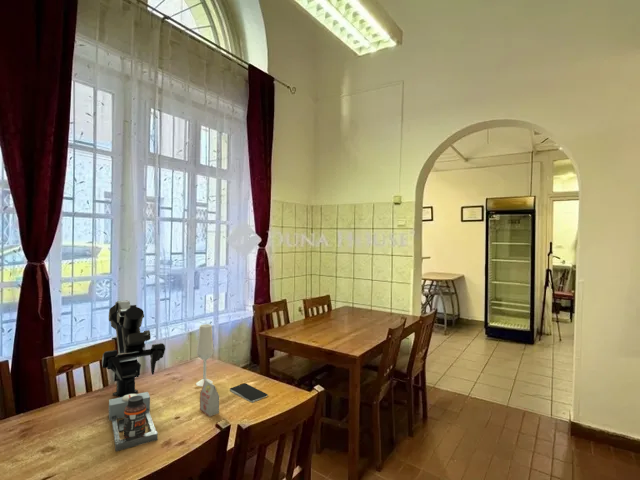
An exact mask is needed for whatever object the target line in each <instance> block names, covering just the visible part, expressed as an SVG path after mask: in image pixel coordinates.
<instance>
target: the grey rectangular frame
mask: <svg viewBox="0 0 640 480" xmlns="http://www.w3.org/2000/svg"><path fill="white" fill-rule="evenodd" d="M150 412H151V411H150ZM150 412H149V409H148V408H147V409H146V425H147V427H148V429H149V432H145V433H144V434H140V435H136V436H133V437H129V438H122V439H121V437H120V433H121V432H122V433H123V432H124V418H120V419H116V416H112V420H111V427H112V434H113V442H114V447H115V452H118V451H123V450H126V449H131V448H134V447H137V446H140V445H144V444H149V443H151V442H155V441H158V434H159V433H158V431H157V429H156V427H155V425H154V421H153V418H152V416H151V413H150Z"/></svg>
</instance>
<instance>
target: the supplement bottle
mask: <svg viewBox="0 0 640 480" xmlns="http://www.w3.org/2000/svg"><path fill="white" fill-rule="evenodd" d="M123 419H124V431H123V439H125V438H129V437H133V436H136V435H140V434H144V433H146V427H147V421H146V404H145V403H143V397H142V396H133V397H130V398H129V399H128V405H127V406H126V407H125V410H124V418H123Z"/></svg>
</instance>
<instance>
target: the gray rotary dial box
mask: <svg viewBox="0 0 640 480" xmlns="http://www.w3.org/2000/svg"><path fill="white" fill-rule="evenodd" d="M133 396H142V397H143V403H145V404H146V409H147V408H148V409H149V412H151V411H150V410H151V409H150V408H151V396H150V394H149V392H148V391H146V392H140V393H134V394H128V395H125V396H123V397H115V398H111V399H110V398H109V399H108V420H109V422H112V416H116V419H117V420H120V419H124V410H125V407H126V406H127V405H128V399H129V398H130V397H133Z"/></svg>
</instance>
